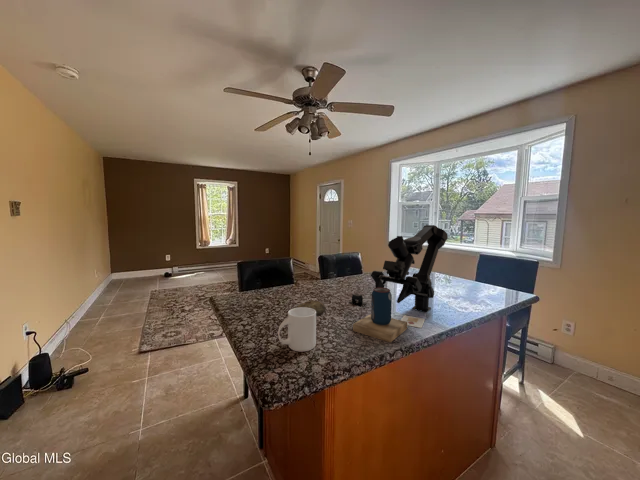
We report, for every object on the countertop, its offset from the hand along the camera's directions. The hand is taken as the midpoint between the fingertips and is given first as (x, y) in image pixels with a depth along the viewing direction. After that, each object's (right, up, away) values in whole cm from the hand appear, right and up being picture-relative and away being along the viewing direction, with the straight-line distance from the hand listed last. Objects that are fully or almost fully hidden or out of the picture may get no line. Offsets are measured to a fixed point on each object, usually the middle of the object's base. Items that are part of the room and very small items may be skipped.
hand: (386, 299), depth 94 cm
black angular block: (-6, -9, +29) cm, 31 cm away
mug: (-31, -11, -14) cm, 36 cm away
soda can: (-2, -8, -2) cm, 8 cm away
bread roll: (-28, -10, +18) cm, 34 cm away
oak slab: (-2, -10, -2) cm, 11 cm away
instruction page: (+12, -10, +6) cm, 16 cm away
